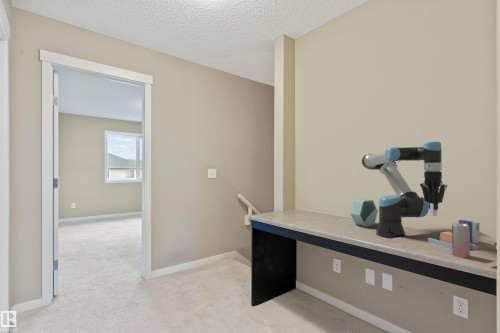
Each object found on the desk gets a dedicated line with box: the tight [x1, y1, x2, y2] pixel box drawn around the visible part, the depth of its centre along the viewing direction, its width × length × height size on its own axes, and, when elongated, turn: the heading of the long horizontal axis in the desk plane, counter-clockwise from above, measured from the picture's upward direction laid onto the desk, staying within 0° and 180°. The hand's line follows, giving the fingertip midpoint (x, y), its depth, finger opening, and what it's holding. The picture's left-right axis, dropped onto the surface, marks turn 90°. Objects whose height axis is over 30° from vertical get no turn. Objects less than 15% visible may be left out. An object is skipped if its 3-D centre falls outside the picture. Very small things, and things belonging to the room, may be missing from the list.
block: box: [439, 231, 452, 244], centre depth 125 cm, size 6×6×6 cm
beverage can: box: [451, 222, 471, 259], centre depth 111 cm, size 6×6×15 cm
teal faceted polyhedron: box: [350, 198, 379, 227], centre depth 177 cm, size 17×8×21 cm
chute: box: [427, 237, 477, 251], centre depth 125 cm, size 16×11×4 cm
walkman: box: [458, 219, 481, 244], centre depth 132 cm, size 8×3×12 cm, turn 25°
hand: (433, 215), depth 133 cm, fingers closed
